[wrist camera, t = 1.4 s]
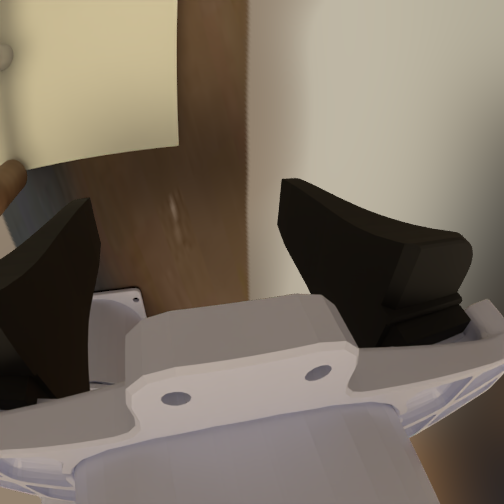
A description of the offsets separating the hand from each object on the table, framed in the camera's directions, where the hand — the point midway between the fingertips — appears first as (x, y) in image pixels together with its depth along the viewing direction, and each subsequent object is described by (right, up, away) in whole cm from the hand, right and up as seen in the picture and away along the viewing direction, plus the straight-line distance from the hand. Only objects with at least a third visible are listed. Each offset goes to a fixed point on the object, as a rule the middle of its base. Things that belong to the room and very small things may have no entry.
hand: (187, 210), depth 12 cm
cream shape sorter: (-8, +15, 0) cm, 17 cm away
